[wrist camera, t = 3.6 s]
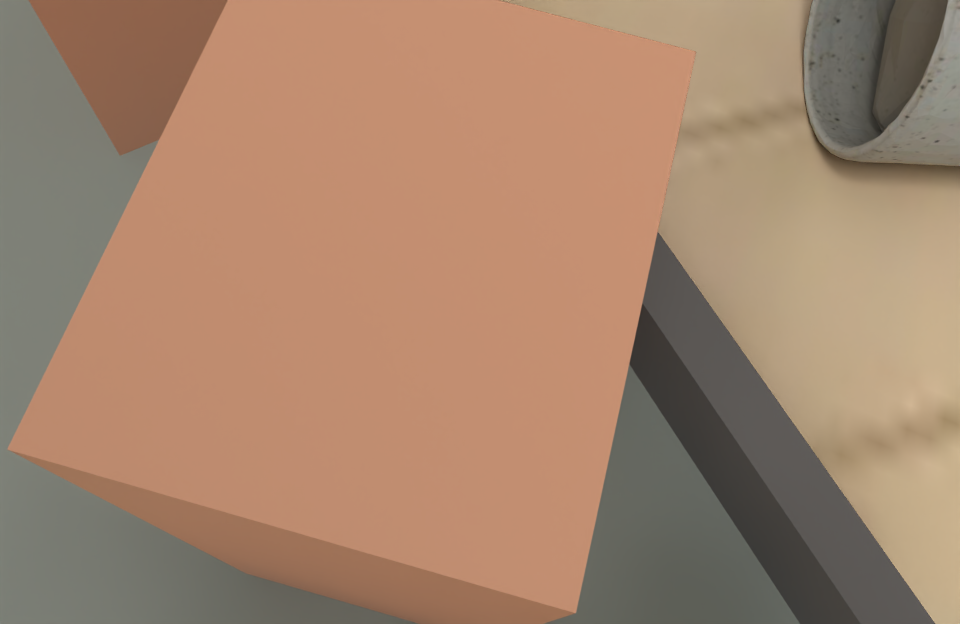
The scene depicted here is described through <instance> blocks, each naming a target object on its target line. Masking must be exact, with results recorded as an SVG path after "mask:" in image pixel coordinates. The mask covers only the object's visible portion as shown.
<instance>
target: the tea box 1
mask: <svg viewBox="0 0 960 624" xmlns="http://www.w3.org/2000/svg"><path fill="white" fill-rule="evenodd" d="M227 1H228V0H29V2H30V4H31V5H32V7H33V9H34V10H35V12H36V14H37V16H38V17H39V19H40V21H41V22H42V24H43V26H44V27H45V29H46V31H47V33H48V34H49V36H50V38H51V39H52V41H53V43H54V44H55V46H56V48H57V50H58V51H59V53H60V55H61V56H62V58H63V60H64V61H65V63H66V65H67V67H68V68H69V70H70V72H71V73H72V75H73V77H74V78H75V80H76V82H77V84H78V85H79V87H80V89H81V90H82V92H83V94H84V95H85V97H86V99H87V101H88V102H89V104H90V106H91V107H92V109H93V111H94V112H95V114H96V116H97V118H98V119H99V121H100V123H101V124H102V126H103V128H104V129H105V131H106V133H107V135H108V136H109V138H110V140H111V141H112V143H113V145H114V146H115V148H116V150H117V151H118V153H119V155H120V156H121V155H123V154H126V153H128V152H130V151H133V150H135V149H138V148H140V147H143V146H145V145H147V144H150V143H152V142H155V141H157V140H159V139H160V137H161V135H162V133H163V131H164V129H165V127H166V125H167V123H168V121H169V119H170V117H171V115H172V113H173V111H174V109H175V107H176V105H177V103H178V101H179V99H180V97H181V95H182V93H183V91H184V88H185V86H186V84H187V82H188V80H189V78H190V76H191V74H192V72H193V70H194V68H195V66H196V64H197V62H198V60H199V58H200V56H201V54H202V52H203V50H204V48H205V46H206V44H207V42H208V40H209V38H210V36H211V34H212V32H213V29H214V27H215V25H216V23H217V21H218V19H219V17H220V15H221V13H222V11H223V9H224V7H225V5H226V3H227Z"/></svg>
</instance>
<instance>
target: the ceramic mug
mask: <svg viewBox="0 0 960 624" xmlns="http://www.w3.org/2000/svg"><path fill="white" fill-rule="evenodd" d="M804 94H805V99H806V106H807V112H808V115H809V117H810V123H811V126H812V128H813V130H814V132H815V134H816V136H817V138H818V140H819V142H820V143H821V144H822V145H823V146H824V147H825V148H826V149H827V150H828V151H829V152H830V153H831V154H833V155H835V156H837V157H839V158H842V159H847V160H852V161H857V162H880V163H905V164H924V165H947V166H960V0H813V2H812V6H811V9H810V16H809V21H808V26H807V31H806V37H805V45H804Z"/></svg>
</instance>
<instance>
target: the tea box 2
mask: <svg viewBox="0 0 960 624" xmlns="http://www.w3.org/2000/svg"><path fill="white" fill-rule="evenodd" d="M695 54H696V52H695V51H692V50H688V49H684V48H680V47H676V46H672V45H669V44H665V43H661V42H657V41H653V40H649V39H645V38H642V37H638V36H634V35H630V34H626V33H622V32H619V31H615V30H611V29H607V28H603V27H599V26H596V25H592V24H588V23H584V22H580V21H576V20H573V19H569V18H565V17H561V16H557V15H553V14H549V13H546V12H542V11H538V10H534V9H530V8H526V7H523V6H519V5H515V4H511V3H507V2H503V1H500V0H228V1H227V3H226V5H225V7H224V9H223V11H222V13H221V15H220V17H219V19H218V21H217V23H216V25H215V27H214V29H213V32H212V34H211V36H210V38H209V40H208V42H207V44H206V46H205V48H204V50H203V52H202V54H201V56H200V58H199V60H198V62H197V64H196V66H195V68H194V70H193V72H192V74H191V76H190V78H189V80H188V82H187V84H186V86H185V88H184V91H183V93H182V95H181V97H180V99H179V101H178V103H177V105H176V107H175V109H174V111H173V113H172V115H171V117H170V119H169V121H168V123H167V125H166V127H165V129H164V131H163V133H162V135H161V137H160V139H159V141H158V143H157V145H156V148H155V150H154V152H153V154H152V156H151V158H150V160H149V162H148V164H147V166H146V168H145V170H144V172H143V174H142V176H141V178H140V180H139V182H138V184H137V186H136V188H135V190H134V192H133V194H132V196H131V198H130V200H129V202H128V204H127V207H126V209H125V211H124V213H123V215H122V217H121V219H120V221H119V223H118V225H117V227H116V229H115V231H114V233H113V235H112V237H111V239H110V241H109V243H108V245H107V247H106V249H105V251H104V253H103V255H102V257H101V259H100V261H99V263H98V266H97V268H96V270H95V272H94V274H93V276H92V278H91V280H90V282H89V284H88V286H87V288H86V290H85V292H84V294H83V296H82V298H81V300H80V302H79V304H78V306H77V308H76V310H75V312H74V314H73V316H72V318H71V320H70V323H69V325H68V327H67V329H66V331H65V333H64V335H63V337H62V339H61V341H60V343H59V345H58V347H57V349H56V351H55V353H54V355H53V357H52V359H51V361H50V363H49V365H48V367H47V369H46V371H45V373H44V375H43V377H42V379H41V382H40V384H39V386H38V388H37V390H36V392H35V394H34V396H33V398H32V400H31V402H30V404H29V406H28V408H27V410H26V412H25V414H24V416H23V418H22V420H21V422H20V424H19V426H18V428H17V430H16V432H15V434H14V436H13V439H12V441H11V443H10V445H9V447H8V449H7V450H9V451H11V452H13V453H15V454H17V455H19V456H21V457H23V458H25V459H27V460H29V461H30V462H32V463H34V464H36V465H38V466H40V467H42V468H44V469H46V470H48V471H50V472H52V473H54V474H55V475H57V476H59V477H61V478H63V479H65V480H67V481H69V482H71V483H73V484H75V485H77V486H79V487H80V488H82V489H84V490H86V491H88V492H90V493H92V494H94V495H96V496H98V497H100V498H102V499H104V500H105V501H107V502H109V503H111V504H113V505H115V506H117V507H119V508H121V509H123V510H125V511H127V512H129V513H131V514H132V515H134V516H136V517H138V518H140V519H142V520H144V521H146V522H148V523H150V524H152V525H154V526H156V527H157V528H159V529H161V530H163V531H165V532H167V533H169V534H171V535H173V536H175V537H177V538H179V539H181V540H182V541H184V542H186V543H188V544H190V545H192V546H194V547H196V548H198V549H200V550H202V551H204V552H206V553H207V554H209V555H211V556H213V557H215V558H217V559H219V560H221V561H223V562H225V563H227V564H229V565H231V566H232V567H234V568H236V569H238V570H240V571H242V572H244V573H246V574H250V575H253V576H256V577H260V578H263V579H267V580H270V581H274V582H277V583H281V584H284V585H287V586H291V587H294V588H298V589H301V590H305V591H308V592H312V593H315V594H318V595H322V596H325V597H329V598H332V599H336V600H339V601H342V602H346V603H349V604H353V605H356V606H360V607H363V608H367V609H370V610H373V611H377V612H380V613H384V614H387V615H391V616H394V617H397V618H401V619H404V620H408V621H411V622H415V623H418V624H544V623H547V622H550V621H553V620H556V619H559V618H563V617H566V616H569V615H572V614H575V613H576V610H577V606H578V601H579V596H580V592H581V587H582V582H583V578H584V573H585V568H586V564H587V559H588V554H589V550H590V545H591V540H592V536H593V531H594V526H595V522H596V517H597V512H598V508H599V503H600V498H601V494H602V489H603V484H604V480H605V475H606V470H607V466H608V461H609V456H610V452H611V447H612V442H613V438H614V433H615V428H616V424H617V419H618V414H619V410H620V405H621V400H622V396H623V391H624V386H625V382H626V377H627V372H628V368H629V363H630V358H631V353H632V349H633V344H634V339H635V335H636V330H637V325H638V321H639V316H640V311H641V307H642V302H643V297H644V293H645V288H646V283H647V279H648V274H649V269H650V265H651V260H652V255H653V251H654V246H655V241H656V237H657V232H658V227H659V223H660V218H661V213H662V209H663V204H664V199H665V195H666V190H667V185H668V181H669V176H670V171H671V167H672V162H673V157H674V153H675V148H676V143H677V139H678V134H679V129H680V125H681V120H682V115H683V111H684V106H685V101H686V96H687V92H688V87H689V82H690V78H691V73H692V68H693V64H694V59H695Z"/></svg>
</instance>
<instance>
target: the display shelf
mask: <svg viewBox="0 0 960 624" xmlns="http://www.w3.org/2000/svg"><path fill="white" fill-rule="evenodd" d="M158 141H159V140H157V141H155V142H152V143H150V144H147V145H145V146H143V147H140V148H138V149H135V150H133V151H130V152H128V153H126V154H123V155H121V156H120V155H119V153H118V151H117V150H116V148H115V146H114V145H113V143H112V141H111V140H110V138H109V136H108V135H107V133H106V131H105V129H104V128H103V126H102V124H101V123H100V121H99V119H98V118H97V116H96V114H95V112H94V111H93V109H92V107H91V106H90V104H89V102H88V101H87V99H86V97H85V95H84V94H83V92H82V90H81V89H80V87H79V85H78V84H77V82H76V80H75V78H74V77H73V75H72V73H71V72H70V70H69V68H68V67H67V65H66V63H65V61H64V60H63V58H62V56H61V55H60V53H59V51H58V50H57V48H56V46H55V44H54V43H53V41H52V39H51V38H50V36H49V34H48V33H47V31H46V29H45V27H44V26H43V24H42V22H41V21H40V19H39V17H38V16H37V14H36V12H35V10H34V9H33V7H32V5H31V4H30V2H29V0H0V624H418V623H415V622H411V621H408V620H404V619H401V618H397V617H394V616H391V615H387V614H384V613H380V612H377V611H373V610H370V609H367V608H363V607H360V606H356V605H353V604H349V603H346V602H342V601H339V600H336V599H332V598H329V597H325V596H322V595H318V594H315V593H312V592H308V591H305V590H301V589H298V588H294V587H291V586H287V585H284V584H281V583H277V582H274V581H270V580H267V579H263V578H260V577H256V576H253V575H250V574H246V573H244V572H242V571H240V570H238V569H236V568H234V567H232V566H231V565H229V564H227V563H225V562H223V561H221V560H219V559H217V558H215V557H213V556H211V555H209V554H207V553H206V552H204V551H202V550H200V549H198V548H196V547H194V546H192V545H190V544H188V543H186V542H184V541H182V540H181V539H179V538H177V537H175V536H173V535H171V534H169V533H167V532H165V531H163V530H161V529H159V528H157V527H156V526H154V525H152V524H150V523H148V522H146V521H144V520H142V519H140V518H138V517H136V516H134V515H132V514H131V513H129V512H127V511H125V510H123V509H121V508H119V507H117V506H115V505H113V504H111V503H109V502H107V501H105V500H104V499H102V498H100V497H98V496H96V495H94V494H92V493H90V492H88V491H86V490H84V489H82V488H80V487H79V486H77V485H75V484H73V483H71V482H69V481H67V480H65V479H63V478H61V477H59V476H57V475H55V474H54V473H52V472H50V471H48V470H46V469H44V468H42V467H40V466H38V465H36V464H34V463H32V462H30V461H29V460H27V459H25V458H23V457H21V456H19V455H17V454H15V453H13V452H11V451H9V450H7V449H8V447H9V445H10V443H11V441H12V439H13V436H14V434H15V432H16V430H17V428H18V426H19V424H20V422H21V420H22V418H23V416H24V414H25V412H26V410H27V408H28V406H29V404H30V402H31V400H32V398H33V396H34V394H35V392H36V390H37V388H38V386H39V384H40V382H41V379H42V377H43V375H44V373H45V371H46V369H47V367H48V365H49V363H50V361H51V359H52V357H53V355H54V353H55V351H56V349H57V347H58V345H59V343H60V341H61V339H62V337H63V335H64V333H65V331H66V329H67V327H68V325H69V323H70V320H71V318H72V316H73V314H74V312H75V310H76V308H77V306H78V304H79V302H80V300H81V298H82V296H83V294H84V292H85V290H86V288H87V286H88V284H89V282H90V280H91V278H92V276H93V274H94V272H95V270H96V268H97V266H98V263H99V261H100V259H101V257H102V255H103V253H104V251H105V249H106V247H107V245H108V243H109V241H110V239H111V237H112V235H113V233H114V231H115V229H116V227H117V225H118V223H119V221H120V219H121V217H122V215H123V213H124V211H125V209H126V207H127V204H128V202H129V200H130V198H131V196H132V194H133V192H134V190H135V188H136V186H137V184H138V182H139V180H140V178H141V176H142V174H143V172H144V170H145V168H146V166H147V164H148V162H149V160H150V158H151V156H152V154H153V152H154V150H155V148H156V145H157V143H158ZM544 624H935V623H934V622H933V620H932V619H931V617H930V616H929V614H928V613H927V612H926V610H925V609H924V607H923V606H922V605H921V603H920V602H919V600H918V599H917V598H916V596H915V595H914V593H913V592H912V590H911V589H910V588H909V586H908V585H907V583H906V582H905V581H904V579H903V578H902V576H901V575H900V573H899V572H898V571H897V569H896V568H895V566H894V565H893V564H892V562H891V561H890V559H889V558H888V557H887V555H886V554H885V552H884V551H883V549H882V548H881V547H880V545H879V544H878V542H877V541H876V540H875V538H874V537H873V535H872V534H871V532H870V531H869V530H868V528H867V527H866V525H865V524H864V523H863V521H862V520H861V518H860V517H859V516H858V514H857V513H856V511H855V510H854V508H853V507H852V506H851V504H850V503H849V501H848V500H847V499H846V497H845V496H844V494H843V493H842V491H841V490H840V489H839V487H838V486H837V484H836V483H835V482H834V480H833V479H832V477H831V476H830V475H829V473H828V472H827V470H826V469H825V467H824V466H823V465H822V463H821V462H820V460H819V459H818V458H817V456H816V455H815V453H814V452H813V450H812V449H811V448H810V446H809V445H808V443H807V442H806V441H805V439H804V438H803V436H802V435H801V434H800V432H799V431H798V429H797V428H796V426H795V425H794V424H793V422H792V421H791V419H790V418H789V417H788V415H787V414H786V412H785V411H784V410H783V408H782V407H781V405H780V404H779V402H778V401H777V400H776V398H775V397H774V395H773V394H772V393H771V391H770V390H769V388H768V387H767V385H766V384H765V383H764V381H763V380H762V378H761V377H760V376H759V374H758V373H757V371H756V370H755V369H754V367H753V366H752V364H751V363H750V361H749V360H748V359H747V357H746V356H745V354H744V353H743V352H742V350H741V349H740V347H739V346H738V344H737V343H736V342H735V340H734V339H733V337H732V336H731V335H730V333H729V332H728V330H727V329H726V328H725V326H724V325H723V323H722V322H721V320H720V319H719V318H718V316H717V315H716V313H715V312H714V311H713V309H712V308H711V306H710V305H709V303H708V302H707V301H706V299H705V298H704V296H703V295H702V294H701V292H700V291H699V289H698V288H697V287H696V285H695V284H694V282H693V281H692V279H691V278H690V277H689V275H688V274H687V272H686V271H685V270H684V268H683V267H682V265H681V264H680V262H679V261H678V260H677V258H676V257H675V255H674V254H673V253H672V251H671V250H670V248H669V247H668V246H667V244H666V243H665V241H664V240H663V238H662V237H661V236H660V234H659V233H658V232H657V237H656V241H655V246H654V251H653V255H652V260H651V265H650V269H649V274H648V279H647V283H646V288H645V293H644V297H643V302H642V307H641V311H640V316H639V321H638V325H637V330H636V335H635V339H634V344H633V349H632V353H631V358H630V363H629V368H628V372H627V377H626V382H625V386H624V391H623V396H622V400H621V405H620V410H619V414H618V419H617V424H616V428H615V433H614V438H613V442H612V447H611V452H610V456H609V461H608V466H607V470H606V475H605V480H604V484H603V489H602V494H601V498H600V503H599V508H598V512H597V517H596V522H595V526H594V531H593V536H592V540H591V545H590V550H589V554H588V559H587V564H586V568H585V573H584V578H583V582H582V587H581V592H580V596H579V601H578V606H577V610H576V613H575V614H572V615H569V616H566V617H563V618H559V619H556V620H553V621H550V622H547V623H544Z"/></svg>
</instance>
